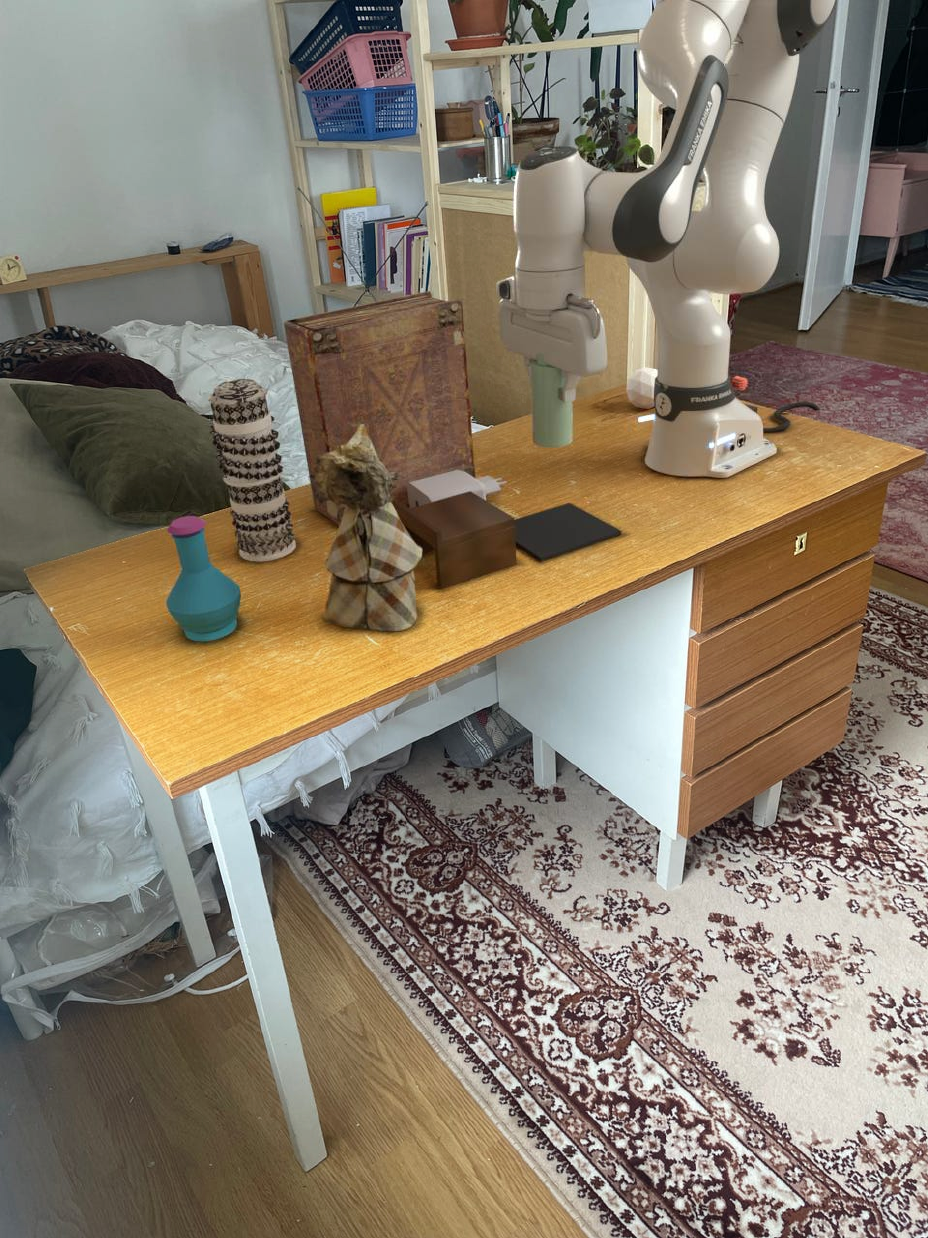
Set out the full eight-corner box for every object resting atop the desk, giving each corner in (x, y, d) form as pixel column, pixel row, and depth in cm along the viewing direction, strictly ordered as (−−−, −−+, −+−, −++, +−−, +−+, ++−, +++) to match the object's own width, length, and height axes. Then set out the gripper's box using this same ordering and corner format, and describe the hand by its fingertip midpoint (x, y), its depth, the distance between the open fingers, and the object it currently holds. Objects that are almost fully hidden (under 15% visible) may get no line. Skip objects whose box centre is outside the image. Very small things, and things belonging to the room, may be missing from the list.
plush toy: (467, 606, 119) (415, 413, 110) (384, 653, 112) (321, 451, 103) (401, 594, 130) (349, 417, 121) (321, 636, 122) (259, 451, 113)
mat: (569, 506, 146) (569, 502, 146) (621, 534, 136) (621, 530, 136) (492, 530, 141) (492, 526, 140) (540, 561, 131) (540, 557, 130)
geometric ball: (653, 422, 184) (661, 398, 177) (616, 406, 185) (622, 381, 178) (668, 394, 187) (677, 369, 179) (631, 378, 188) (639, 352, 181)
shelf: (473, 534, 140) (469, 481, 136) (516, 563, 131) (514, 508, 126) (401, 556, 135) (395, 502, 131) (441, 589, 126) (435, 532, 122)
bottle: (557, 431, 134) (556, 313, 126) (581, 441, 130) (581, 320, 122) (525, 439, 132) (521, 320, 124) (547, 450, 128) (545, 327, 120)
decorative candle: (232, 543, 143) (197, 380, 131) (292, 530, 146) (263, 370, 133) (240, 567, 136) (203, 398, 123) (303, 554, 138) (274, 386, 125)
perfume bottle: (261, 623, 121) (239, 516, 114) (201, 654, 116) (174, 545, 108) (219, 603, 127) (195, 500, 119) (160, 632, 121) (131, 526, 114)
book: (446, 469, 163) (431, 290, 148) (476, 484, 156) (463, 298, 141) (314, 510, 152) (283, 320, 137) (340, 528, 145) (310, 331, 130)
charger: (519, 503, 148) (434, 528, 143) (490, 485, 156) (408, 508, 150) (517, 475, 146) (431, 499, 140) (489, 458, 153) (405, 480, 148)
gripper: (620, 297, 114) (618, 408, 121) (528, 275, 130) (530, 374, 137) (577, 305, 112) (578, 418, 119) (489, 282, 127) (493, 383, 134)
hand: (552, 394), depth 128 cm, fingers closed on bottle, 5 cm apart
